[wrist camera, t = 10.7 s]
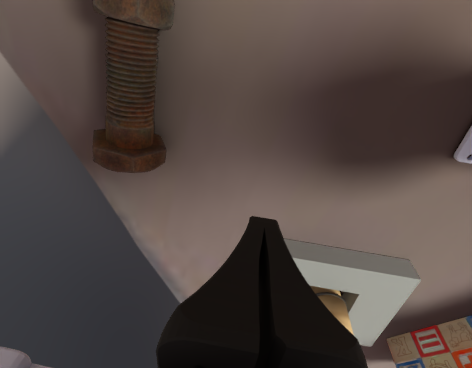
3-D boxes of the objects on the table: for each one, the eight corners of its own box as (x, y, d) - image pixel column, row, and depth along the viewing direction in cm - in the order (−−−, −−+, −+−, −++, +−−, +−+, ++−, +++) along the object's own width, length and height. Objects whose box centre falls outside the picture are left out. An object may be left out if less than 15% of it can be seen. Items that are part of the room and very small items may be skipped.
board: (409, 259, 26) (421, 279, 24) (364, 326, 32) (370, 346, 30) (270, 236, 26) (269, 253, 24) (253, 306, 33) (251, 324, 31)
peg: (342, 273, 28) (359, 334, 22) (338, 297, 30) (353, 358, 24) (304, 272, 28) (312, 330, 23) (303, 295, 30) (310, 354, 25)
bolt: (174, -69, 17) (156, 143, 24) (83, -107, 14) (95, 140, 22) (198, -92, 12) (167, 176, 20) (74, -151, 10) (92, 176, 18)
